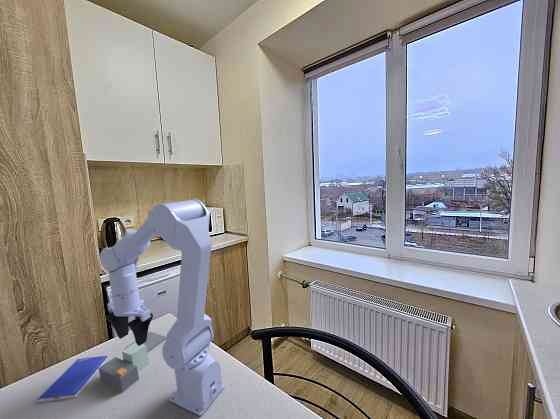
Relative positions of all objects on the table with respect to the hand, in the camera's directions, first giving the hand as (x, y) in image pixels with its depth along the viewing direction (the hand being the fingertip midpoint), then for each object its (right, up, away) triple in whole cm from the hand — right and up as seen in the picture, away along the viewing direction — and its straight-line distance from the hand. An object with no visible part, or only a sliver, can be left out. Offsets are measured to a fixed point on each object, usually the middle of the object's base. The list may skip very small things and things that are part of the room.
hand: (132, 339), depth 64 cm
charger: (+1, -8, +1) cm, 8 cm away
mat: (-2, -7, +10) cm, 13 cm away
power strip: (-1, -8, -3) cm, 9 cm away
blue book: (-14, -10, -1) cm, 17 cm away
